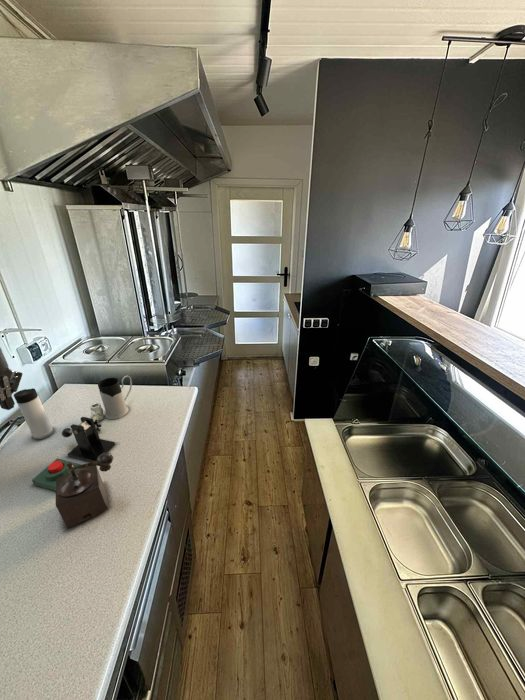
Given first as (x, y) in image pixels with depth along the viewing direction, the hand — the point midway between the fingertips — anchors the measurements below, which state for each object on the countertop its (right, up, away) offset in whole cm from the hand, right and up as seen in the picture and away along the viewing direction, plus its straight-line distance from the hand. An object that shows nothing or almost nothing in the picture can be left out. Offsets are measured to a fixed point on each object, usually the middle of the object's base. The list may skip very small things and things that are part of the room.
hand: (9, 408), depth 85 cm
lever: (+11, -12, +15) cm, 22 cm away
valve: (+9, -13, +30) cm, 33 cm away
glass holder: (+15, -8, +38) cm, 42 cm away
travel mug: (-9, -15, +25) cm, 31 cm away
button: (+10, -20, +5) cm, 23 cm away
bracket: (+15, -19, +17) cm, 29 cm away
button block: (+11, -24, +7) cm, 27 cm away
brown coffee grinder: (+27, -27, -1) cm, 38 cm away
